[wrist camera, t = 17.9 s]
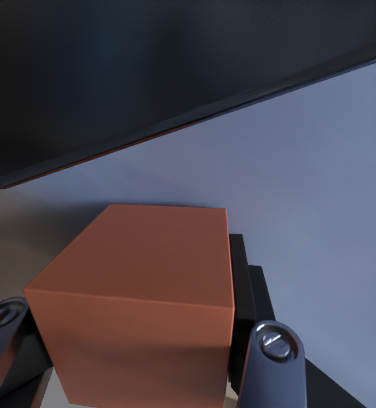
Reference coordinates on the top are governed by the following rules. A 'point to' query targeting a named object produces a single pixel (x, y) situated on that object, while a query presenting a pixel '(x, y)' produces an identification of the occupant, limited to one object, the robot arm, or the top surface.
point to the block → (140, 309)
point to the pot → (156, 68)
